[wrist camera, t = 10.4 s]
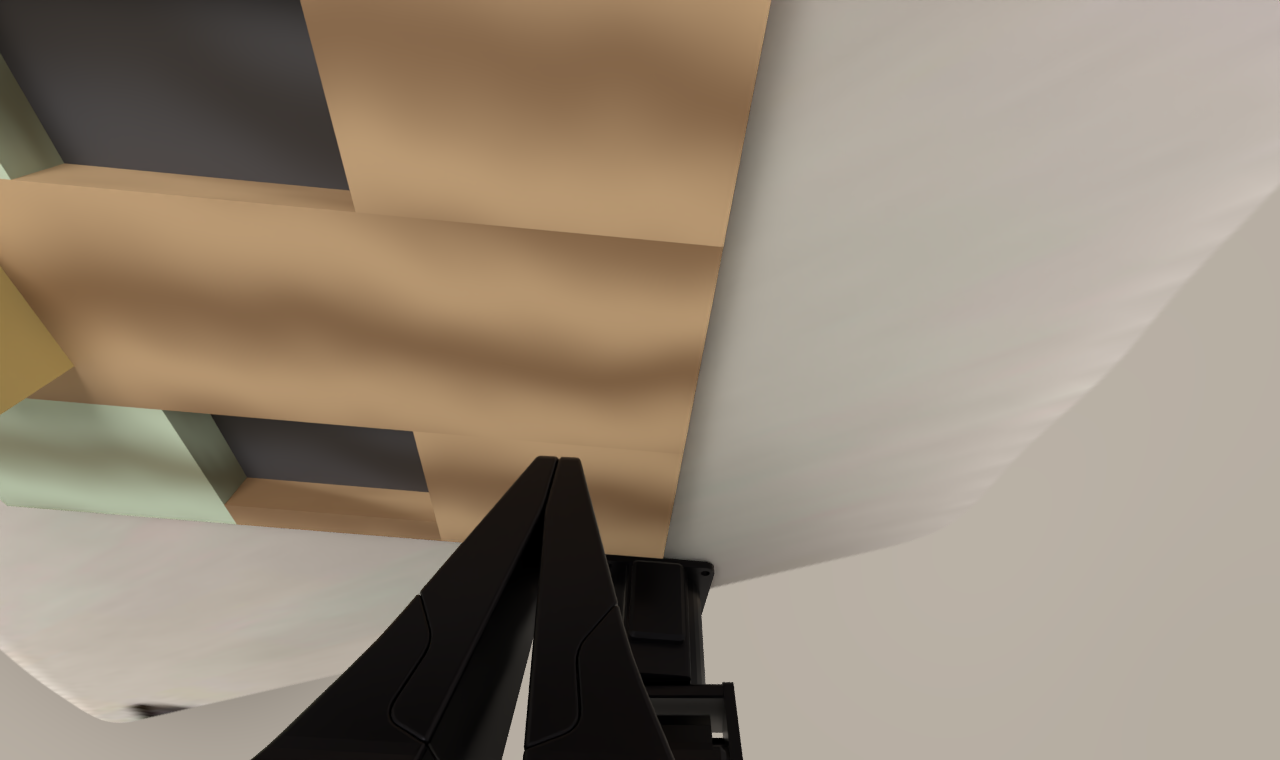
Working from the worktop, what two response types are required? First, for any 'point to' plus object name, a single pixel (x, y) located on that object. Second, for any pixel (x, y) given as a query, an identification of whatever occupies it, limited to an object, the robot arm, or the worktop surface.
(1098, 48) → the worktop surface
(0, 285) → the mustard block
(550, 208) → the trap deck
